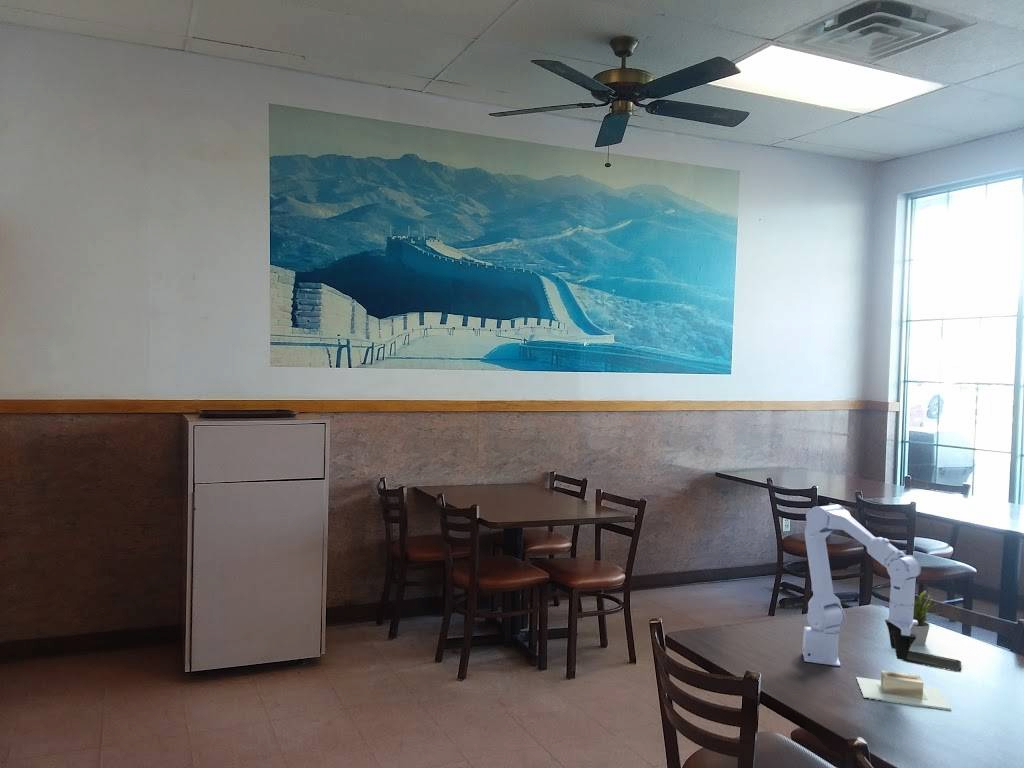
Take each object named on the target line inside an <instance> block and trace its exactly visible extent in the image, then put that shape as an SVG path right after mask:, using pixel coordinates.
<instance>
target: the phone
mask: <svg viewBox="0 0 1024 768" xmlns="http://www.w3.org/2000/svg"><path fill="white" fill-rule="evenodd" d="M903 661H904V662H908V663H914V664H917V665H918V664H919V665H923V664H924V665H923V666H928V665H929V666H928V667H933V666H934V667H933V668H937V667H939V668H938V669H942V668H945V669H944V670H947V669H950V670H949V671H952V670H954V671H953V672H958V671H959V672H962V661H961V660H958V659H954V658H950V657H949V658H948V657H944V656H938V655H934V654H928V653H924V652H919V651H913V650H909V653H908V656H907V658H906V660H903Z"/></svg>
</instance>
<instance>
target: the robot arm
mask: <svg viewBox="0 0 1024 768" xmlns="http://www.w3.org/2000/svg"><path fill="white" fill-rule="evenodd" d="M805 518H806V519H805V520H806V524H805V528H804V539H805V546H806V553H807V560H808V567H809V568H808V569H809V575H810V580H811V582H810V583H811V587H812V593H813V595H812V596H811V598H810V599H809V601H808V603H807V607H808V608H807V609H808V610H807V615H806V618H807V622H808V625H810V626H804V627H803V637H802V646H801V647H802V648H801V652H802V655H803V661H804V662H805V663H806V662H807V663H813V664H822V665H828V666H829V665H830V666H834V667H835V666H836V667H841V662H840V659H839V655H838V654H839V640H840V639H839V638H840V630H841V626H842V625H843V624H844V623H845V620H846V613H845V610H844V609H843V607H842V604H841V600H840V598H839V597H837V596H836V594H835V593H834V588H833V580H832V574H831V568H830V560H829V552H828V547H827V541H826V538H827V537H828V536H829V535H830V534H831V533H832V532H833V531H834V530H839V531H840V530H842V531H844V532H845V533H847V534H849V535H850V536H851V537H852V538H854V539H855V540H857V541H858V542H859V543H861V544H862V545H863V546H865V547H866V552H867V554H868V555H870V556H871V557H872V558H873V559H875V560H876V561H877V562H878V563H880V565H881V566H883V568H884V567H885V568H886V571H887V574H888V575H889V578H890V581H889V582H890V592H889V607H888V616H887V619H884V620H885V623H886V627H887V630H888V635H889V642H890V647H891V649H894V650H895V655H896V659H897V660H902V661H904V660H906V658H907V656H908V653H909V651H910V648H911V646H913V645H912V643H913V642H914V640H915V639H916V635H915V634H910V630H911V627H912V626H913V625H914V624H915V625H918V621H917V620H913V613H914V599H916V598H915V596H916V595H915V594H916V580H917V579H916V577H919V575H921V570H922V566H921V564H920V561H919V560H918V559H917V558H916V557H915V556H914V555H911V554H908V555H907V554H905V552H904V551H903V550H899V549H898V548H897V547H896V546H894V545H893V544H892V543H890V541H891V540H890V539H888V538H884V537H882V536H878V537H876V536H874V535H873V534H872V533H871V532H870V531H869V530H868V529H866V528H865V527H864V526H863V525H862V524H861V523H859V522H858V521H857V520H856V519H855V518H854V517H853V516H851V513H850V511H848V510H847V509H845V508H844V507H843V506H841V505H840V504H837V503H835V504H829V505H822V506H817V505H816V506H813V507H812V508H810V509H809V510H808V512H807V513H806V514H805Z"/></svg>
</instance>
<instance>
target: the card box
mask: <svg viewBox="0 0 1024 768" xmlns="http://www.w3.org/2000/svg"><path fill="white" fill-rule="evenodd" d="M880 675H881V676H880V680H881V687H882V690H883V692H884V693H888V694H895V695H902V696H909V697H916V698H923V686H924V681H923V680H922V678H921V676H920V675H918V674H910V673H903V672H898V671H897V672H896V671H889V670H888V671H887V670H881V674H880Z"/></svg>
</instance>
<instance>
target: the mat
mask: <svg viewBox="0 0 1024 768" xmlns="http://www.w3.org/2000/svg"><path fill="white" fill-rule="evenodd" d="M855 679H857V680H856V682H857V685H858V684H859V685H858V687H859V689H861V690H860V692H862V693H861V695H862V694H863V695H862V697H864V698H869V699H868V700H871V699H875V700H874V701H878V700H882V701H881V702H885V701H886V702H888V703H894V704H900V703H901V705H907V706H915V707H921V706H922V707H921V708H928V707H931V708H930V709H936V708H937V710H944V711H950V712H951V711H952V707H951V706H950V704H949V702H948V701H947V699H946V698H945V696H944V694H943V693H942V692H941V690H940V688H939V687H935V686H934V687H933V686H927V685H923V698H916V697H909V696H902V695H895V694H888V693H884V692H883V690H882V687H881V679H876V678H875V679H874V678H866V677H859V676H856V677H855ZM864 698H863V699H864Z"/></svg>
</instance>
